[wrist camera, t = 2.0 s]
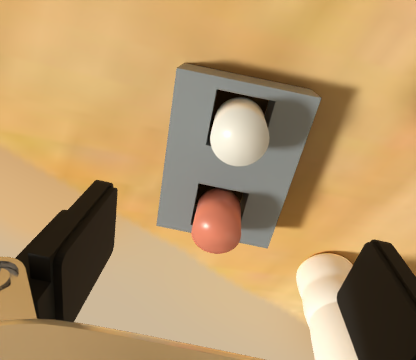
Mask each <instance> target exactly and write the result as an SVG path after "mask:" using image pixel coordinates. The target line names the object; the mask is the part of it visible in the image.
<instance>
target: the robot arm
mask: <svg viewBox="0 0 416 360" xmlns="http://www.w3.org/2000/svg"><path fill="white" fill-rule="evenodd" d="M116 206H117V188H113V184H112V183H109V182H104V181H100V180H96V181H94V182H93V184H92V185H91V186H90V187H89V188H88V189H87V190H86V191H85V192H84V193H83V194H82V195H81V196H80V197H79V199H78V200H77V201H76V202H75V203H74V204H73V205H72V206H71V207H70V208H69V209H68V210H62V211H61V212H59V213H58V214H57V216H56V217H55V218H54V219H53V220H52V221H51V222H50V223H49V224H48V225H47V226H46V227H45V228H44V229H43V230H42V231H41V232H40V233H39V234H38V235H37V236H36V237H35V238H34V239H33V240H32V241H31V242H30V243H29V244H28V245H27V246H26V248H25V249H24V250H23V251H22V252H21V253H20V254H19V255H18V256H17V257H16V258H11V257H0V360H265V359H259V358H254V357H250V356H245V355H240V354H236V353H231V352H226V351H221V350H216V349H211V348H206V347H201V346H197V345H191V344H187V343H181V342H177V341H172V340H167V339H162V338H157V337H152V336H147V335H142V334H137V333H132V332H126V331H121V330H116V329H110V328H105V327H99V326H94V325H89V324H83V323H75V322H74V320H75V319H76V317H77V315H78V313H79V312H80V310H81V308H82V306H83V304H84V302H85V300H86V299H87V297H88V295H89V294H90V292H91V290H92V288H93V286H94V284H95V283H96V281H97V279H98V277H99V275H100V274H101V272H102V270H103V268H104V267H105V265H106V263H107V261H108V259H109V258H110V256H111V254H112V251H113V247H114V237H115V222H116V221H115V220H116ZM337 303H338V306H339V309H340V312H341V314H342V317H343V320H344V322H345V325H346V328H347V331H348V333H349V336H350V339H351V342H352V344H353V347H354V350H355V352H356V355H357V358H358V360H416V277H415V275H414V274H413V273H412V271H411V270H410V268H409V267H408V266H407V264H406V263H405V262H404V260H403V259H402V257H401V256H400V255H399V253H398V252H397V250H396V249H395V248H394V246H393V245H392V244H391V243H388V242H383V241H379V240H372V241H370V243H369V242H368V243H366V244H365V245H364V247H363V249H362V250H361V252H360V254H359V256H358V257H357V259H356V261H355V263H354V264H353V266H352V268H351V270H350V272H349V273H348V275H347V277H346V279H345V280H344V282H343V284H342V286H341V288H340V289H339V291H338V293H337Z"/></svg>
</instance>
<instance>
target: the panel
mask: <svg viewBox="0 0 416 360" xmlns="http://www.w3.org/2000/svg"><path fill="white" fill-rule="evenodd" d="M218 90H223V91H228V92H233V93H237V94H242V95H247V96H252V97H257V98H261V99H266V100H269V101H268V105H267V108H266V112H265V116H264V117H265V121H266V124H267V127H268V131H269V145H268V148H267V150H266V152H265V153H264V155H263V156H262V157H261V158H260V159H259V160H258V161H256V162H254V163H252V164H250V165H247V166H232V165H229V164H226V163H224V162H223V161H221V160H220V159H219V158H218V157H217V156H216V155H215V153H214V152H213V150H212V147H211V143H210V135H211V132H210V126H211V121H212V116H213V111H214V106H215V101H216V96H217V91H218ZM320 101H321V97H320V96H318V95H317V94H316V93H315V92H314V91H312V90H311V89H308V88H303V87H298V86H293V85H289V84H284V83H279V82H274V81H269V80H265V79H260V78H255V77H250V76H245V75H241V74H236V73H231V72H226V71H221V70H217V69H212V68H207V67H202V66H197V65H193V64H188V63H184V64H182V65H180V66H179V67H177V70H176V78H175V85H174V93H173V101H172V109H171V117H170V124H169V132H168V140H167V148H166V156H165V163H164V171H163V179H162V187H161V195H160V202H159V210H158V218H157V226H161V227H166V228H171V229H175V230H180V231H185V232H190V233H191V231H192V226H193V222H194V217H195V213H196V208H197V205H195V203H196V198H197V193H198V188H199V183H200V184H204V185H209V186H214V187H219V188H224V189H229V190H234V191H238V192H243V195H242V198H241V202H240V205H241V239H240V242H239V243H244V244H249V245H253V246H258V247H263V248H268V246H269V243H270V240H271V237H272V235H273V232H274V229H275V226H276V223H277V221H278V218H279V215H280V212H281V210H282V207H283V204H284V201H285V198H286V196H287V193H288V190H289V187H290V184H291V182H292V179H293V176H294V173H295V170H296V168H297V165H298V162H299V159H300V156H301V154H302V151H303V148H304V145H305V143H306V140H307V137H308V134H309V131H310V129H311V126H312V123H313V120H314V117H315V115H316V112H317V109H318V106H319V103H320Z"/></svg>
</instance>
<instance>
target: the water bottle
mask: <svg viewBox="0 0 416 360" xmlns="http://www.w3.org/2000/svg"><path fill="white" fill-rule="evenodd" d="M352 266H353V265H352V263H351V262H350V261H349V260H347V259H346V258H344V257H342V256H340V255H337V254H332V253H323V254H318V255H314V256H312V257H310V258H308V259H307V260H305V261H304V262H303V263H302V264H301V265H300V266H299V268H298V270H297V274H296V280H297V285H298V289H299V292H300V295H301V298H302V300H303V310H304V314H305V318H306V321H307V324H308V326H309V328H310V333H311V341H312V347H313V352H314V356H315V360H358V358H357V355H356V352H355V350H354V347H353V344H352V342H351V339H350V336H349V333H348V331H347V328H346V325H345V322H344V320H343V317H342V314H341V312H340V309H339V306H338V303H337V293H338V291H339V289H340V288H341V286H342V284H343V282H344V280H345V279H346V277H347V275H348V273H349V272H350V270H351V268H352Z"/></svg>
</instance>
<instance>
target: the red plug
mask: <svg viewBox="0 0 416 360" xmlns="http://www.w3.org/2000/svg"><path fill="white" fill-rule="evenodd" d="M191 233H192V238H193V240H194V242H195V243H196V245H197V246H198V247H199V248H201V249H202V250H204V251H207V252H210V253H215V254H220V253H226V252H228V251H231V250H232V249H234V248H235V247H236V246H237V245H238V243H239V242H240V239H241V205H240V201H239V199H238V198H237V196H236V195H235V194H234V193H232V192H231V191H229V190H226V189H222V188H214V189H210V190H208V191H206V192H205V193H203V194H202V195H201V197H200V198H199V200H198V204H197V208H196V213H195V217H194V222H193V226H192V231H191Z"/></svg>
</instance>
